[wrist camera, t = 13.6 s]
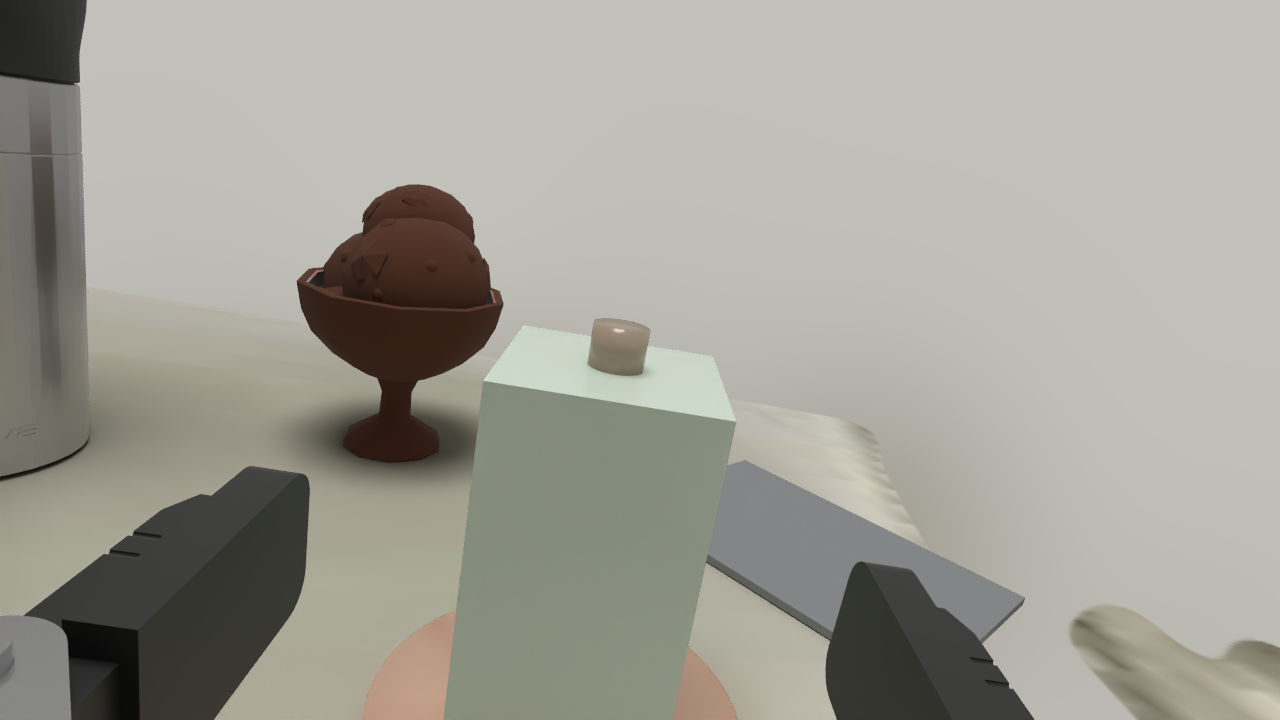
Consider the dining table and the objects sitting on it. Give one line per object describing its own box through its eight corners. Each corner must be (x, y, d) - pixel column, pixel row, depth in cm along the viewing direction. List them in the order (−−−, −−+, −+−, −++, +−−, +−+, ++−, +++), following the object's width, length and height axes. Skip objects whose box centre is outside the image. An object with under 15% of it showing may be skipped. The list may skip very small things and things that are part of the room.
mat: (614, 503, 41) (615, 497, 40) (744, 465, 49) (745, 460, 49) (923, 698, 29) (926, 690, 29) (1022, 604, 37) (1025, 597, 37)
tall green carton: (437, 770, 21) (489, 332, 17) (483, 633, 27) (528, 288, 23) (654, 800, 21) (746, 375, 18) (652, 658, 27) (720, 320, 24)
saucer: (295, 693, 24) (296, 667, 23) (576, 585, 32) (579, 565, 32) (510, 1022, 16) (516, 988, 16) (806, 765, 24) (813, 740, 24)
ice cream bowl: (276, 413, 44) (286, 161, 41) (455, 406, 51) (478, 186, 47) (304, 492, 36) (320, 183, 32) (514, 472, 42) (549, 211, 38)
